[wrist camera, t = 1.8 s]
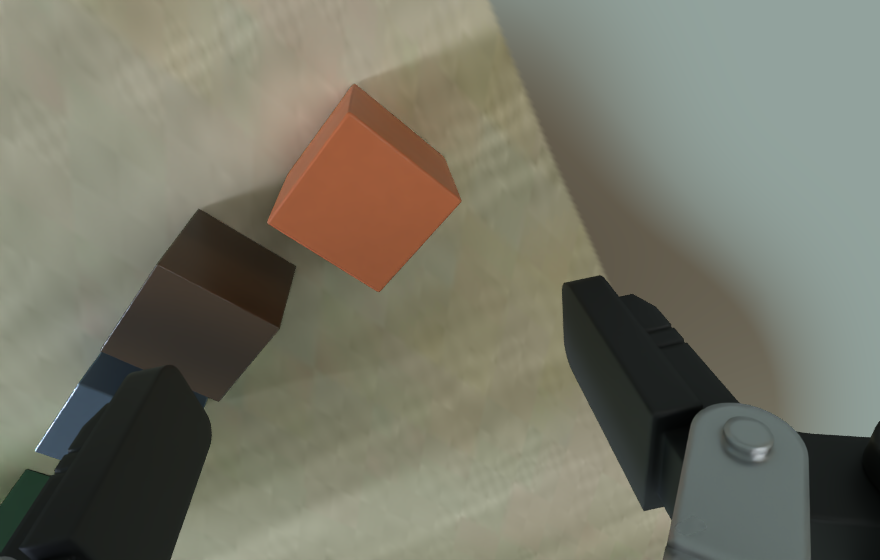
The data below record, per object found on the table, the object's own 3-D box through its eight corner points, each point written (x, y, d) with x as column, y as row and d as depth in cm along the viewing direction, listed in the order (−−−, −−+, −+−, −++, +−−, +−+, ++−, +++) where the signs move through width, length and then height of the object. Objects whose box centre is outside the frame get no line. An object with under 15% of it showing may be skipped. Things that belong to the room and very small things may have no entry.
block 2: (198, 208, 20) (156, 264, 16) (296, 266, 22) (280, 328, 18) (148, 284, 21) (99, 351, 18) (244, 332, 23) (218, 402, 20)
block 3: (129, 312, 22) (78, 383, 18) (224, 356, 24) (196, 429, 20) (88, 374, 24) (33, 451, 20) (180, 411, 26) (146, 488, 22)
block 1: (26, 468, 26) (-34, 552, 23) (113, 495, 28) (72, 577, 25) (-3, 512, 28) (-63, 598, 24) (81, 535, 30) (38, 618, 26)
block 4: (353, 82, 18) (348, 110, 14) (445, 158, 20) (463, 201, 16) (286, 175, 20) (265, 223, 16) (378, 237, 22) (379, 293, 18)
